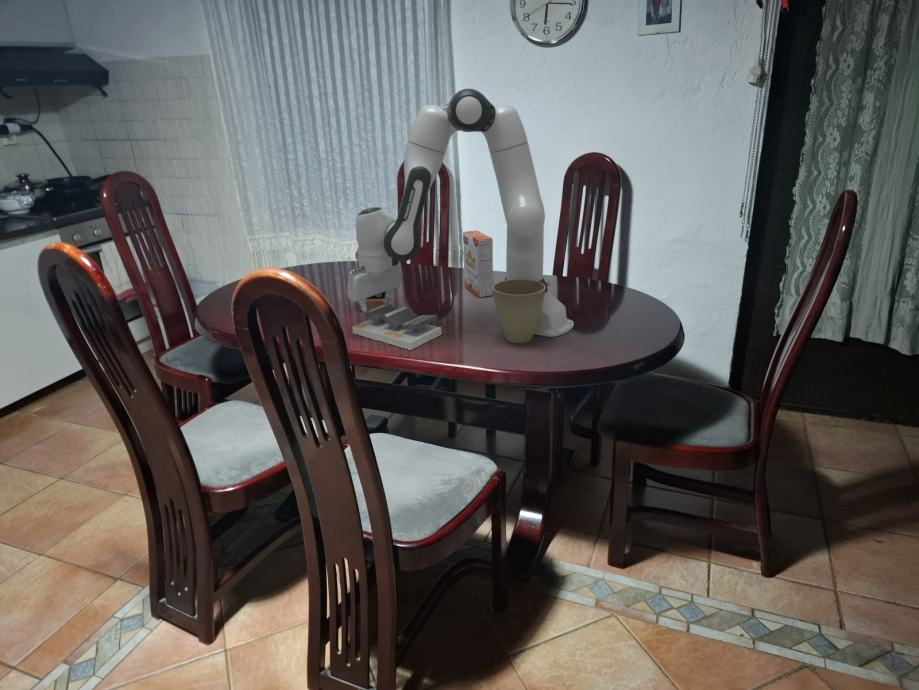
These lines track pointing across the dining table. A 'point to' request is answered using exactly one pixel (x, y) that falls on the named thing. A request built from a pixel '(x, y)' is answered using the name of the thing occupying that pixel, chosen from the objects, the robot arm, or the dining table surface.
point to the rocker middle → (399, 317)
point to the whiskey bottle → (373, 300)
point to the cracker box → (478, 263)
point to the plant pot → (518, 307)
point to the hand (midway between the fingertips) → (376, 307)
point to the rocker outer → (379, 312)
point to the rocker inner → (419, 322)
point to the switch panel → (397, 334)
